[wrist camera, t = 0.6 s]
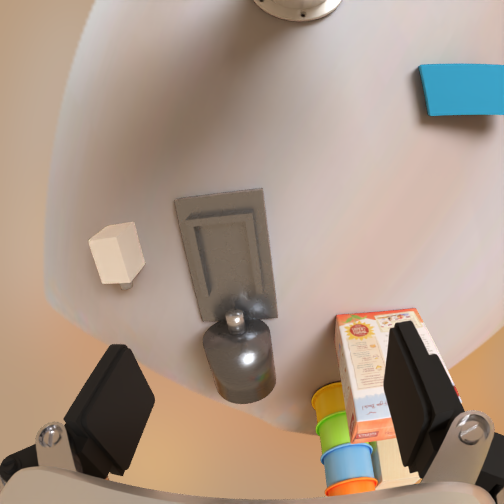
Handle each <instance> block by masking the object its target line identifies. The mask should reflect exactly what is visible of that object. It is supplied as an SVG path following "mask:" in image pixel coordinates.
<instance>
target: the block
mask: <svg viewBox="0 0 504 504" xmlns="http://www.w3.org/2000/svg"><path fill="white" fill-rule="evenodd" d="M88 242H89V246H90V249H91V252H92V255H93V258H94V261H95V264H96V267H97V270H98V273H99V275H100V278H101V281H102V284H114V283H119V284H120V287H121V289H122V290H127V289H130V288H131V287H132V286H133V283H132V280H133V279H134V278H135V276H136V275H137V274H138V273H139V271H140V270H141V269H142V268H143V266H144V265H145V264H146V263H145V260H144V256H143V253H142V249H141V246H140V242H139V238H138V235H137V231H136V227H135V223H134V222H128V223H122V224H115V225H108V226H106V227H105V228H103V229H102V230H101V231H100V232H98V233H97V234H96V235H94V236H93V237H92V238H91V239H89V240H88Z"/></svg>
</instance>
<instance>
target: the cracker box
mask: <svg viewBox="0 0 504 504" xmlns="http://www.w3.org/2000/svg"><path fill="white" fill-rule="evenodd" d="M410 320H411V321H412V322H413V324H414V326H415V327H416V329H417V331H418V333H419V335H420V337H421V339H422V341H423V343H424V345H425V347H426V349H427V351H428V353H429V355H430V354H437V355H438V357H439V358H440V360H441V362H442V364H443V366H444V368H445V370H446V372H447V374H448V376H449V378H450V381H451V383H452V385H453V387H454V389H455V391H456V393H457V395H458V398H459V400H460V402H462V401H461V398H460V397H459V394H458V391H457V389H456V387H455V385H454V383H453V381H452V378H451V377H450V374H449V372H448V370H447V368H446V365H445V363H444V361H443V359H442V357H441V355H440V353H439V351H438V349H437V347H436V345H435V343H434V341H433V339H432V337H431V335H430V333H429V332H428V330H427V328H426V326H425V324H424V322H423V320H422V319H421V317H420V315H419V313H418V311H417V310H416V308H412V309H402V310H392V311H382V312H370V313H357V314H342V315H337V316H336V327H335V338H334V342H335V347H336V353H337V359H338V365H339V371H340V377H341V382H342V389H343V395H344V402H345V409H346V415H347V422H348V429H349V436H350V443H351V444H357V443H365V442H373V441H380V440H386V439H392V438H396V434H395V430H394V426H393V422H392V419H391V415H390V411H389V407H388V403H387V400H386V396H385V393H384V387H383V381H384V374H385V366H386V358H387V349H388V340H389V330H390V328H394V325H395V323H398V322H404V321H410Z"/></svg>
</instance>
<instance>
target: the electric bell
mask: <svg viewBox="0 0 504 504" xmlns="http://www.w3.org/2000/svg"><path fill="white" fill-rule="evenodd" d="M174 202H175V207H176V212H177V216H178V221H179V225H180V230H181V234H182V239H183V243H184V248H185V252H186V256H187V260H188V265H189V269H190V273H191V277H192V281H193V285H194V289H195V293H196V297H197V301H198V305H199V308H200V312H201V316H202V320H203V321H219V322H217V323H216V324H214V325H213V326H211V327H210V328H209V329H208V330H207V331H206V333H205V335H204V337H203V346H204V349H205V352H206V356H207V359H208V362H209V366H210V369H211V372H212V375H213V378H214V382H215V385H216V388H217V391H218V393H219V394H220V395H221V396H222V397H223V398H224V399H225V400H227V401H230V402H232V403H237V404H248V403H253V402H256V401H259V400H261V399H263V398H265V397H266V396H267V395H268V394H269V393H270V392H271V391H272V390H273V388H274V386H275V384H276V374H275V366H274V359H273V351H272V343H271V336H270V330H269V327H268V326H267V325H266V324H265V323H264V322H263V321H261V320H259V319H268V318H278V311H277V302H276V293H275V285H274V276H273V267H272V259H271V251H270V242H269V234H268V226H267V218H266V210H265V202H264V194H263V188H260V189H251V190H242V191H233V192H224V193H216V194H208V195H201V196H193V197H186V198H179V199H176V200H175V201H174Z"/></svg>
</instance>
